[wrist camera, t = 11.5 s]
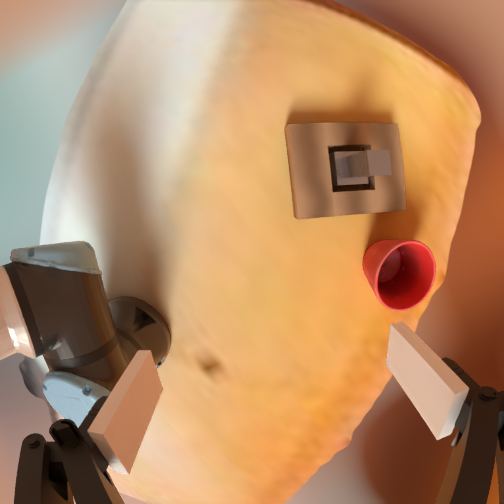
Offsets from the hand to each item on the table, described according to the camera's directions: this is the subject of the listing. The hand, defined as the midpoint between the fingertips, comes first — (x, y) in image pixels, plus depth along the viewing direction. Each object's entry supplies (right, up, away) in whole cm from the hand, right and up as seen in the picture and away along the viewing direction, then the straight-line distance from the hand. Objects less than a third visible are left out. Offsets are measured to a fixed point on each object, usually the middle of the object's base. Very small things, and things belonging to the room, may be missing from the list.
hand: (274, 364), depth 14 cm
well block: (+14, +19, +29) cm, 38 cm away
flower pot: (+21, +4, +33) cm, 39 cm away
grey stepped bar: (+14, +19, +29) cm, 38 cm away
